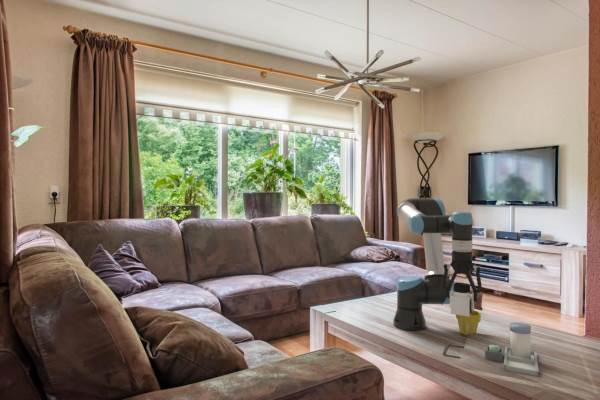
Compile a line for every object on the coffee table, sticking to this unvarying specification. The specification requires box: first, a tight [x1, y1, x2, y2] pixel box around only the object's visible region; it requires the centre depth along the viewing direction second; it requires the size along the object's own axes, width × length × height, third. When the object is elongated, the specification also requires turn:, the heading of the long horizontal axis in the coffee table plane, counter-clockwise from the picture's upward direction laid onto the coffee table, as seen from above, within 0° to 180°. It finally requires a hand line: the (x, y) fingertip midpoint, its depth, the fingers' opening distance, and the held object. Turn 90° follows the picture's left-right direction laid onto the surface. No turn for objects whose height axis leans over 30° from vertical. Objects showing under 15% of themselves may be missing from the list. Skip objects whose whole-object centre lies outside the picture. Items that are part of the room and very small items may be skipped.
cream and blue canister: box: [509, 321, 532, 359], centre depth 149 cm, size 7×7×12 cm
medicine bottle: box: [450, 281, 473, 317], centre depth 156 cm, size 7×7×12 cm
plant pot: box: [455, 309, 482, 336], centre depth 179 cm, size 10×10×10 cm
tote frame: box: [442, 343, 465, 359], centre depth 157 cm, size 13×13×1 cm
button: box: [488, 344, 501, 352], centre depth 149 cm, size 4×4×3 cm
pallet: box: [484, 345, 540, 377], centre depth 146 cm, size 18×22×4 cm
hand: (461, 307), depth 157 cm, fingers closed on medicine bottle, 7 cm apart
